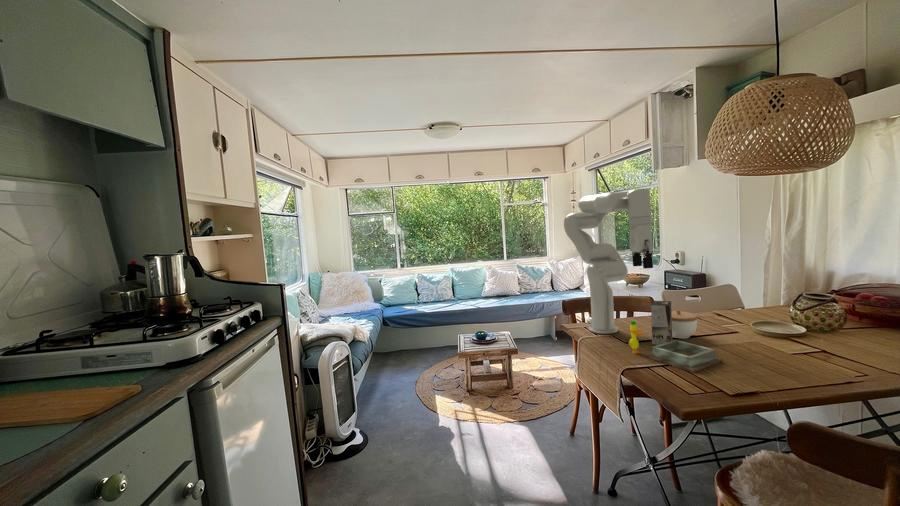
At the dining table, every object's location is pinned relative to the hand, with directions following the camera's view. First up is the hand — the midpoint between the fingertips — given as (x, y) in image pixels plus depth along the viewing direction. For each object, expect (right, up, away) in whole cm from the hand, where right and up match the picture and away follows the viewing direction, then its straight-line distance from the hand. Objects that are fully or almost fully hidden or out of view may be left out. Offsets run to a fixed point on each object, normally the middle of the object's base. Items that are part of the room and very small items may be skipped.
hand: (642, 267), depth 132 cm
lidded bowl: (+23, -30, +14) cm, 40 cm away
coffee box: (+12, -31, +8) cm, 34 cm away
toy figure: (-3, -32, -1) cm, 33 cm away
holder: (+8, -32, -10) cm, 35 cm away
